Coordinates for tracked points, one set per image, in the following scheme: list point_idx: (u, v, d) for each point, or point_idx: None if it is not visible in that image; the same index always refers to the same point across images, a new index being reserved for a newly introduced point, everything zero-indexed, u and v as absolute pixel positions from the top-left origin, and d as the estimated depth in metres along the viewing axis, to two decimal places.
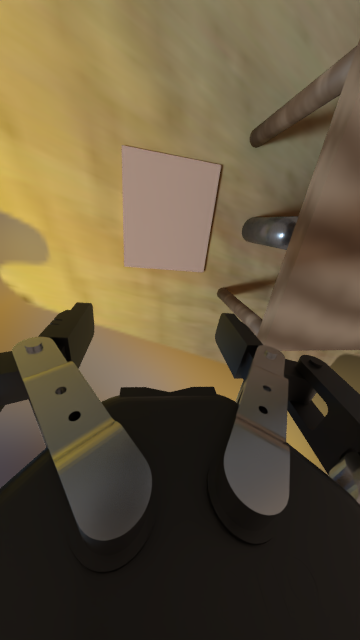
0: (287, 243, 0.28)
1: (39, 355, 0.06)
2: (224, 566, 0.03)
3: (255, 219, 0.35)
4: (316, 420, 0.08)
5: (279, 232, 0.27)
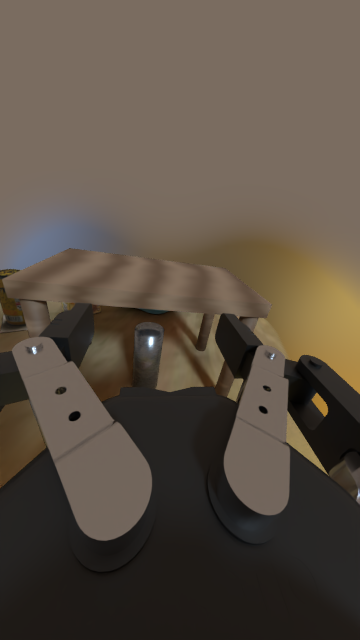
0: (158, 331, 0.29)
1: (40, 355, 0.06)
2: (224, 566, 0.03)
3: (135, 379, 0.33)
4: (316, 420, 0.08)
5: (150, 339, 0.28)
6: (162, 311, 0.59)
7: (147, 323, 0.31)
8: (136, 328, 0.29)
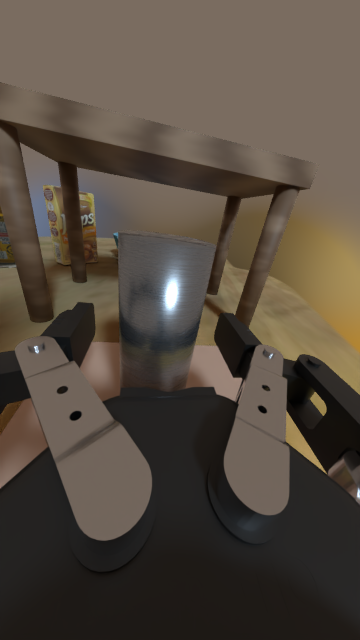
0: (198, 243, 0.09)
1: (42, 355, 0.06)
2: (224, 566, 0.03)
3: None
4: (314, 419, 0.08)
5: (175, 253, 0.07)
6: None
7: (159, 233, 0.10)
8: (124, 232, 0.08)
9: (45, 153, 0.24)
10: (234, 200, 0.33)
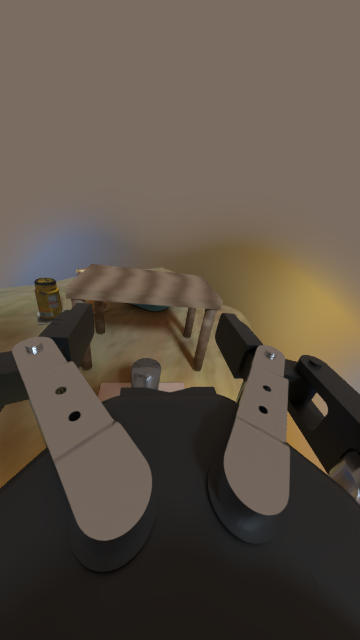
0: (155, 370, 0.30)
1: (39, 355, 0.06)
2: (224, 566, 0.03)
3: None
4: (316, 420, 0.08)
5: (147, 379, 0.28)
6: (161, 309, 0.74)
7: (144, 360, 0.31)
8: (133, 367, 0.29)
9: None
10: None
